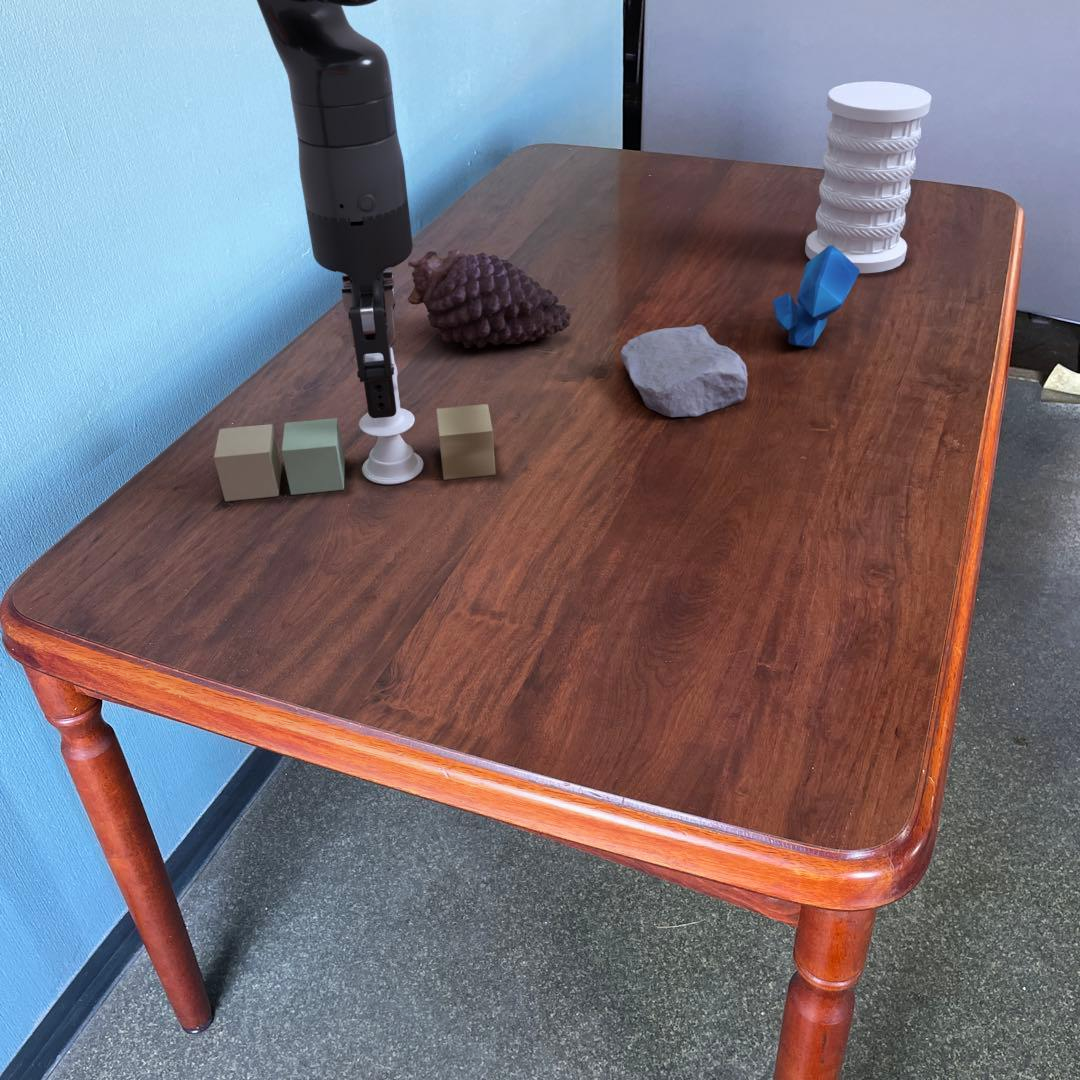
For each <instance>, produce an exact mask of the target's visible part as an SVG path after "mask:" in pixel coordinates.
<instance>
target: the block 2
mask: <svg viewBox="0 0 1080 1080" xmlns="http://www.w3.org/2000/svg"><path fill="white" fill-rule="evenodd" d="M283 426H284V427H283V435H282V445H281V455H282V460H283V464H284V465H283V466H284V467H285V468H284V469H285V475H286V478H287V483H288V488H289V492H290V495H291V496H293V495H303V494H312V493H315V494H316V493H324V492H325V493H326V492H335V491H343V490H345V463H346V461H345V455H344V449H343V442H342V438H341V431H340V425H339V419H338V418H337V417H334V418H324V419H312V420H302V421H301V420H300V421H289V422H284V425H283Z"/></svg>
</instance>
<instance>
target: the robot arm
mask: <svg viewBox="0 0 1080 1080" xmlns="http://www.w3.org/2000/svg"><path fill="white" fill-rule="evenodd" d="M256 2H257V5H258V8H259V10H260V12H261V15H262V18H263V20H264V23H265V25H266V28H267V30H268V33H269V35H270V38H271V41H272V43H273V45H274V48H275V49H276V53H277V54H278V57H279V60H280V61H281V63H282V65H283V68H284V70H285V72H286V75H287V79H288V85H289V92H290V101H291V106H292V111H293V112H292V113H293V118H294V119H293V120H294V125H295V130H296V135H297V144H298V169H299V178H300V183H301V189H302V190H301V191H302V195H303V200H304V207H305V214H306V218H307V226H308V231H309V238H310V243H311V244H310V245H311V249H312V256H313V258H314V260H315V262H316V264H318V265H319V266H320V267H322V268H324V269H326V270H327V271H330V272H334V273H336V272H338V273H342V275H341V278H342V287H341V298H342V306H343V308H344V310H345V312H346V314H347V323H348V332H349V341H350V345H352V347H353V348H354V350H355V356H356V357H355V358H356V364H357V371H356V375H357V378H358V379H359V382H360V383H363V386H364V394H365V400H366V406H367V413H368V414H369V416H370V417H372V418H383V417H392V416H394V415H395V414H396V402H395V394H394V386H393V379H392V375H394V364H392V360H391V351H390V348H392V350H393V351H394V349H393V346H394V345H395V343H396V341H397V338H396V328H395V319H394V309H395V306H396V296H395V291H396V290H395V282H394V281H395V280H394V271H393V270H387V269H390V268H395V267H396V266H398V265H400V264H402V263H403V262H405V261H406V260H407V259H409V257H410V255H411V254H412V252H413V247H414V246H413V235H412V225H411V218H410V217H411V216H410V209H409V208H410V207H409V199H408V198H409V197H408V188H407V180H406V170H405V163H404V156H403V152H402V148H401V147H402V146H401V144H400V140H399V134H398V129H397V122H396V112H395V102H394V94H393V93H394V91H393V82H392V74H391V68H390V63H389V59H388V56H387V54H386V53H385V51H384V50H383V48H382V47H381V46H380V45H379V44H378V43H376V42H374V41H373V40H371V39H369V38H367V37H365V36H364V35H363V34H362V33H361V34H360V33H359V32H357V30H355V29H354V28H353V27H352V25H351V24H350V22H349V20H348V18H347V16H346V14H345V13H346V12H345V10H344V8H343V7H353V8H354V7H363V6H368V5H371V4H373V3H376V2H378V0H256ZM373 353H381V354H382V355H383V359H384V360H382V361H370V362H366V356H365V354H373Z"/></svg>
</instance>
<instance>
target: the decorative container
mask: <svg viewBox="0 0 1080 1080" xmlns="http://www.w3.org/2000/svg"><path fill="white" fill-rule="evenodd" d="M932 97H933V96H932V95H931V94H930V92H928V91H926V90H925V89H923V88H920V87H918V86H915V85H910V84H906V83H900V82H892V81H878V80H876V81H855V82H848V83H842V84H840V85H836V86H834V87H832V88H830V89H829V91H828V93H827V100H826V101H827V102H826V108H827V110H828V111H829V112H831V121H830V122H829V123H828V126H827V127H826V140H827V150H826V151H825V153H824V155H823V158H822V167H823V170H824V175H823V178H822V179H821V182H820V184H819V186H818V189H819V190H818V192H819V197H820V204H819V205H818V207H817V210H816V212H815V223H816V225H817V226H816V227H817V228H816V230H813V231H812V232H811V233H809V234H808V235H807V237H806V240H805V245H804V246H805V247H804V252H805V255H806V256H807V258H808V259H809V261H810V260H812V259H813V258H814V257H815V256H817V255H818V254H819V253H820V252H822V251H823V250H824V249H825V248H827V247H828V246H829V245H832V246H834V247H836V248H837V249H838V250H840V251H841V252H842V253H843V254H844V255H845V256H846V257H847V258H848V259H849V260H850V261H851V262H852V263H853V264H854V265H855V266H856V267H858V268H859V272H860V273H859V274H874V273H883V272H886V271H890V270H893V269H895V268H897V267H900V266H901V265H902V264H903V263H904V262H905V260H906V256H907V250H908V244H907V242H906V240H905V239H904V238H903V237H901V232H902V231H903V230H904V227H905V225H906V221H907V219H906V214H907V213H906V206H907V205H906V204H908V203H909V200H910V197H911V194H912V190H911V189H912V188H911V187H912V186H911V184H910V183H911V177H912V175H913V174H914V172H915V170H916V167H917V157H916V156H915V155H916V149H917V146H919V143H920V141H921V140H922V139H921V138H922V128H921V122H922V117H925V116H926V115H928V114H929V112H930V108H931V104H932Z"/></svg>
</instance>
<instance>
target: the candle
mask: <svg viewBox="0 0 1080 1080" xmlns="http://www.w3.org/2000/svg"><path fill="white" fill-rule="evenodd" d="M392 349H393V347H392V348H390V351H391V360H392V364H394V375H392V379H393V386H394V394H395V402H396V414H395V415H394V416H392V417H383V418H372V417H370V416H369V414H368V412H367V413H365V414H364V415H363V416H361V418H360V419H359V421H358V427H359V428H360V430H361V431H362V432H363V433H365V434H366V435H369V436H372V437H377V439H376V442H375V445H374V447H372V448H371V450H370V451H369V455H368V458H367V459H366V460H365V461H364V463H363V465H362V468H361V471H362V475H363V476H364V477H365V478H366V479H367V480H369V481H370V482H372V483H376V484H379V485H398V484H403V483H405V482H406V483H407V482H408V481H411V480H413V479H414V478H416V477H418V475H420V474H421V472H422V470H423V469H424V461H423V458H422V457H421V456H420V455H419V454H417V453H416V452H415V451H414V448H413V447H412V446H411V445H410V444H408V443H406V442H405V440H404V439H403V438H402V436H401V434H403V433H405V432H407V431H408V430H409V429H411V428H412V427H413V425H414V423H415V419H416V418H415V416H414V414H413V413H412V412H411V411H410V410H408V409H405V408H403V407H401V402H400V395H399V394H400V393H399V386H398V385H399V384H398V375H399V374H398V372H399V371H398V367H397V364H396V360H395V355H394V349H393V350H392ZM365 356H366V362H370V361H382V360H384V359H383V355H382V354H381V353H373V354H365Z"/></svg>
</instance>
